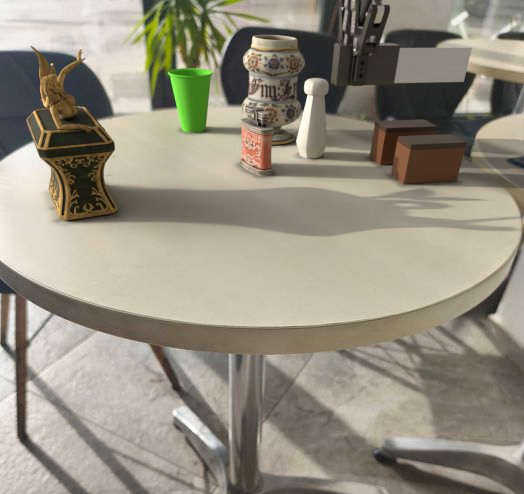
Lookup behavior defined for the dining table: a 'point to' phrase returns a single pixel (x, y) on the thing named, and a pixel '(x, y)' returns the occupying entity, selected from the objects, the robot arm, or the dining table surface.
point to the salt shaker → (313, 120)
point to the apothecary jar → (274, 81)
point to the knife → (402, 65)
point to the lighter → (256, 141)
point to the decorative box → (71, 148)
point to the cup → (191, 97)
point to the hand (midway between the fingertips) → (352, 82)
